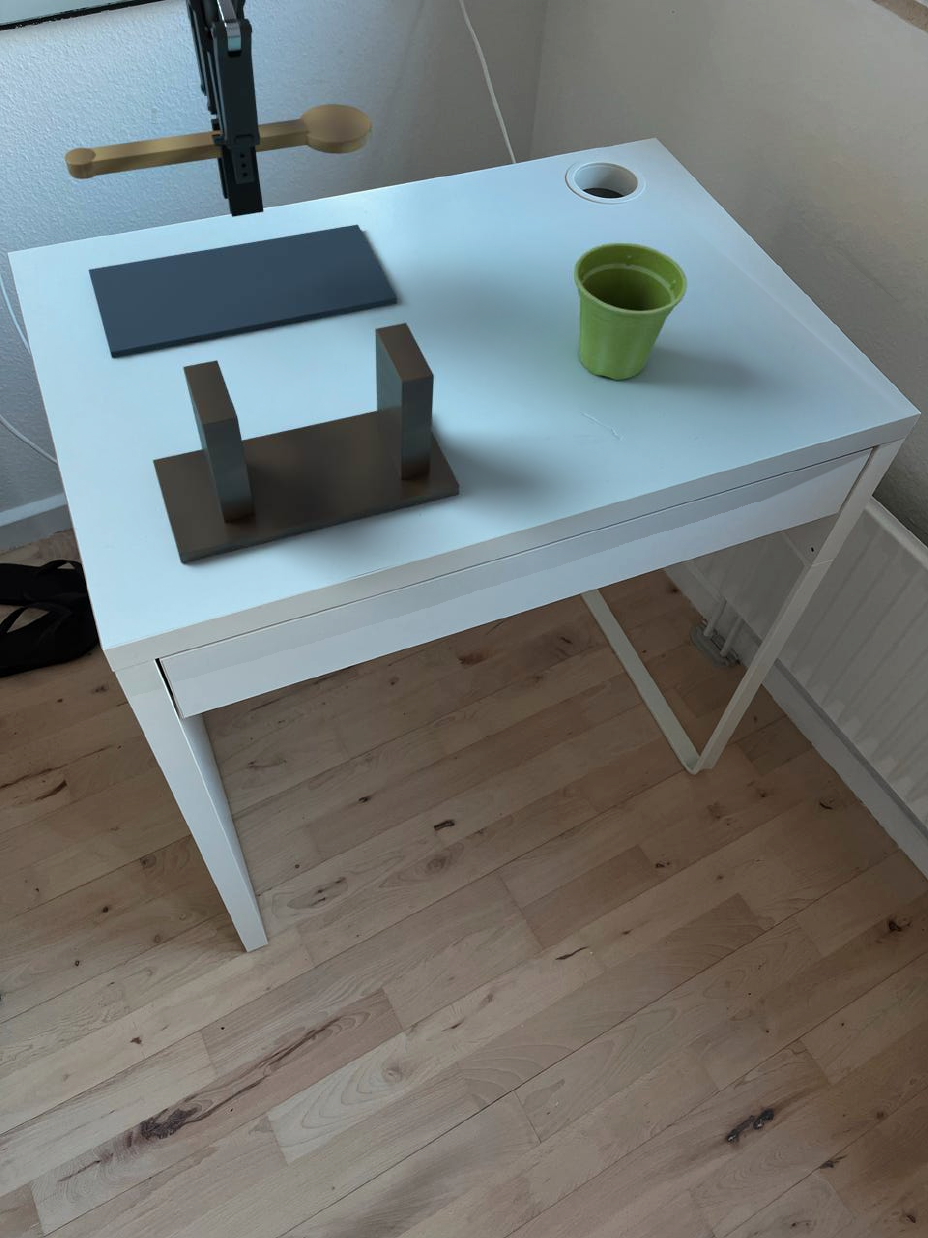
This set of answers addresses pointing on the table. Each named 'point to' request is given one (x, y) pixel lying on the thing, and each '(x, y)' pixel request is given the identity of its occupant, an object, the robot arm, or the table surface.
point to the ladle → (315, 128)
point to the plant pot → (624, 305)
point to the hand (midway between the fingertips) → (243, 202)
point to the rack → (305, 461)
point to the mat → (237, 289)
